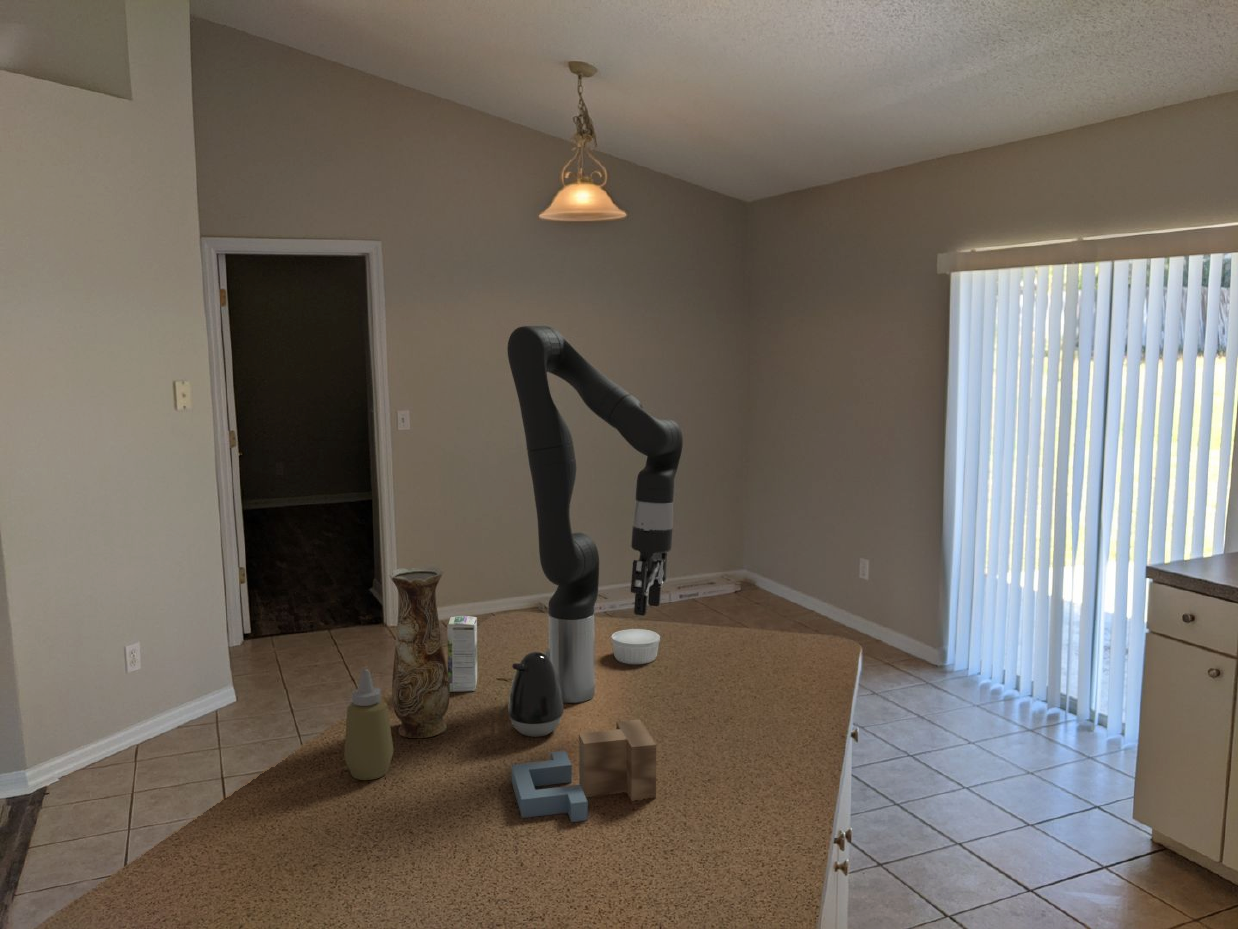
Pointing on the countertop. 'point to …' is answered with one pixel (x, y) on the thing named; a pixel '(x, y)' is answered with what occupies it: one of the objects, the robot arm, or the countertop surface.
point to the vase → (419, 655)
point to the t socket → (550, 798)
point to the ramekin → (635, 646)
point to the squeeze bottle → (368, 732)
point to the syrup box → (462, 653)
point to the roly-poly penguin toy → (535, 696)
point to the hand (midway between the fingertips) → (647, 610)
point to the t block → (618, 761)
